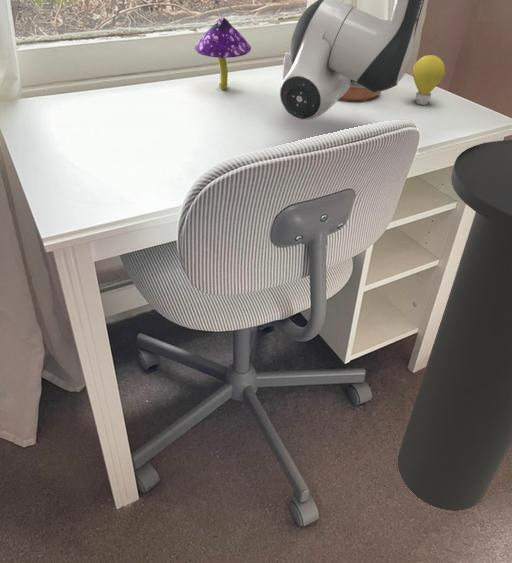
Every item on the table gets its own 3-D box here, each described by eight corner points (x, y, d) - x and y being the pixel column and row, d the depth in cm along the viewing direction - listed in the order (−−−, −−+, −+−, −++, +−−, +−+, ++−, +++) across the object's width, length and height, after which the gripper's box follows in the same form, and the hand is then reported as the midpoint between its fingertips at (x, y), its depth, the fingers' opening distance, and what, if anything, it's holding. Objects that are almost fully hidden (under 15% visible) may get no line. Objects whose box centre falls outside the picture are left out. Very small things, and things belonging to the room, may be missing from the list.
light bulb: (401, 98, 121) (410, 52, 114) (427, 96, 122) (437, 50, 116) (415, 109, 116) (425, 60, 109) (443, 106, 117) (454, 59, 111)
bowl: (392, 93, 123) (396, 71, 120) (354, 107, 115) (357, 83, 112) (344, 78, 131) (347, 57, 128) (305, 90, 123) (307, 68, 120)
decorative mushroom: (203, 78, 128) (201, 9, 119) (254, 82, 127) (256, 13, 118) (189, 95, 119) (186, 22, 110) (245, 100, 117) (246, 26, 108)
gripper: (387, 64, 92) (401, 49, 103) (276, 51, 99) (301, 38, 109) (381, 101, 96) (396, 83, 106) (275, 87, 102) (298, 71, 113)
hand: (347, 60), depth 108 cm, fingers open, 8 cm apart
